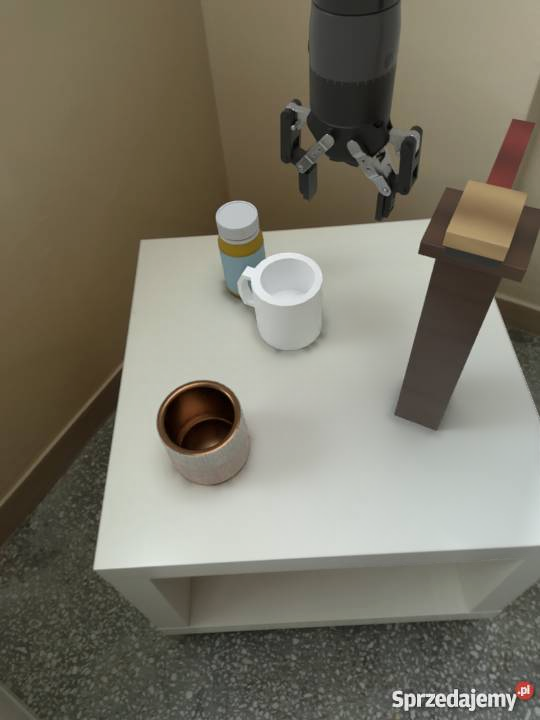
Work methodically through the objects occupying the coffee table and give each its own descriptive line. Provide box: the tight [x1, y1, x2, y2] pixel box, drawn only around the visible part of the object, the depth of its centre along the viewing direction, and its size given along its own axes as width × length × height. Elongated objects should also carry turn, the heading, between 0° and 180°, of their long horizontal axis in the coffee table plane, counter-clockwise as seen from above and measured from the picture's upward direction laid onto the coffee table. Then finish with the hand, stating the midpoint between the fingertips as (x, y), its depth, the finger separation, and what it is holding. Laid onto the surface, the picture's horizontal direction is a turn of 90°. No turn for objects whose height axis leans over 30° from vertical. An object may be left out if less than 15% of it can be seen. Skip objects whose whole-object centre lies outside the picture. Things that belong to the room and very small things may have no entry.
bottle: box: [215, 200, 267, 298], centre depth 83 cm, size 7×7×15 cm
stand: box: [394, 186, 540, 431], centre depth 61 cm, size 8×9×33 cm
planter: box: [155, 379, 251, 486], centre depth 69 cm, size 11×11×10 cm
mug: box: [237, 252, 324, 351], centre depth 80 cm, size 14×10×11 cm
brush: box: [443, 118, 536, 269], centre depth 48 cm, size 19×5×3 cm, turn 154°
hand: (344, 206), depth 59 cm, fingers open, 8 cm apart
